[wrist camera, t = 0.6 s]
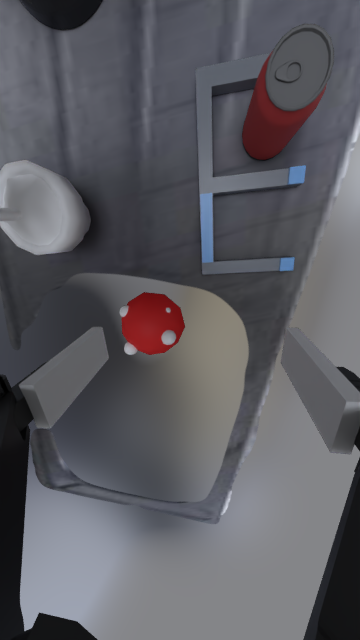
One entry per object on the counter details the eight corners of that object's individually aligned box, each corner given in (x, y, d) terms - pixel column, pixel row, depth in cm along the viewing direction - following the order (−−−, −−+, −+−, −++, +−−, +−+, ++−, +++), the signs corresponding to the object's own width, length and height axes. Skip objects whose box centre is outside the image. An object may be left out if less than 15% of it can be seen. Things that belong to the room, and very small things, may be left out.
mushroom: (129, 322, 43) (101, 351, 32) (144, 274, 39) (118, 288, 28) (175, 342, 43) (163, 378, 32) (196, 296, 39) (190, 319, 28)
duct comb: (196, 79, 28) (195, 66, 26) (312, 56, 26) (321, 39, 24) (202, 272, 37) (202, 274, 35) (287, 268, 35) (292, 270, 33)
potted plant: (87, 264, 40) (-82, 300, 17) (35, 223, 38) (-230, 201, 15) (120, 206, 35) (-50, 145, 12) (63, 156, 34) (-258, -21, 11)
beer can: (242, 106, 28) (263, 22, 17) (293, 98, 27) (350, 4, 16) (240, 164, 31) (257, 122, 20) (287, 158, 30) (332, 111, 19)
